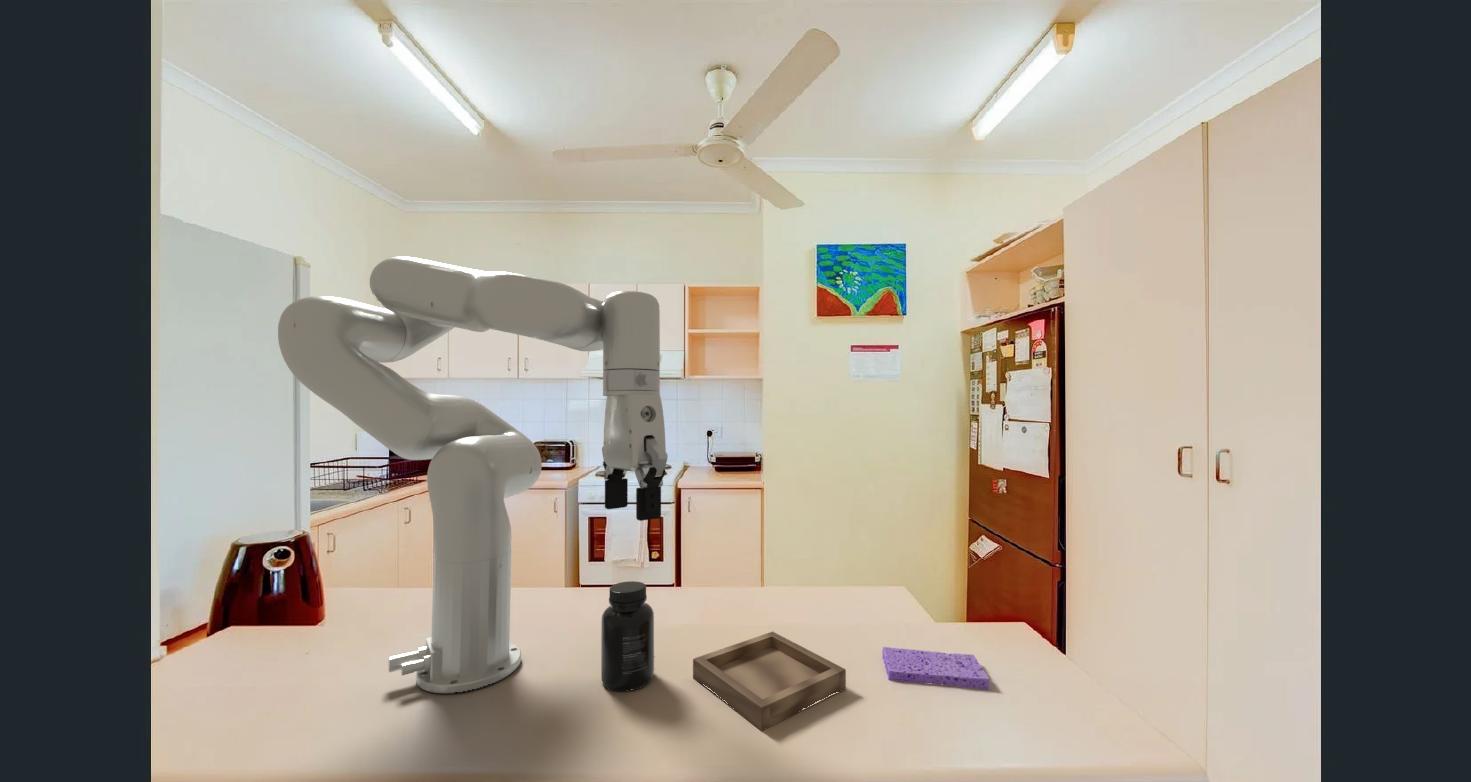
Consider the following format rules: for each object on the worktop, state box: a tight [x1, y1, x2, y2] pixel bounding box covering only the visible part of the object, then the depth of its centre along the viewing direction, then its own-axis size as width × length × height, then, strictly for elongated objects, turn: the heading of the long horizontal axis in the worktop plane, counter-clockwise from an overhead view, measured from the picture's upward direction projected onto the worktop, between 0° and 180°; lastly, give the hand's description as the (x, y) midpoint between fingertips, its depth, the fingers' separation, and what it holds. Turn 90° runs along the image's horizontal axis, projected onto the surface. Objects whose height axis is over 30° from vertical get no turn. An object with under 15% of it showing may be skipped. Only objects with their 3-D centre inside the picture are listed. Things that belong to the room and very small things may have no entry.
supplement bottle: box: [600, 580, 655, 692], centre depth 67 cm, size 7×7×12 cm
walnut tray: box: [692, 631, 847, 732], centre depth 66 cm, size 14×14×2 cm
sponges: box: [882, 646, 990, 691], centre depth 69 cm, size 7×13×2 cm, turn 79°
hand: (631, 513), depth 68 cm, fingers open, 9 cm apart
